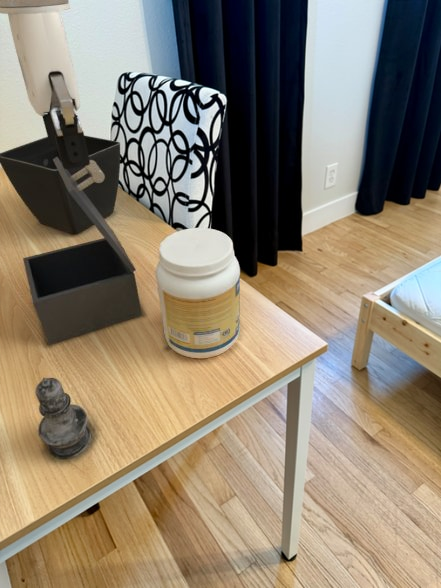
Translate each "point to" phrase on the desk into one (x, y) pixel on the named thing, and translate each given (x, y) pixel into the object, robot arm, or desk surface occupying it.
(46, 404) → the chess piece
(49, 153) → the flower pot
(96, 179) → the lid
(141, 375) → the desk surface
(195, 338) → the supplement tub
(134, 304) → the chest
